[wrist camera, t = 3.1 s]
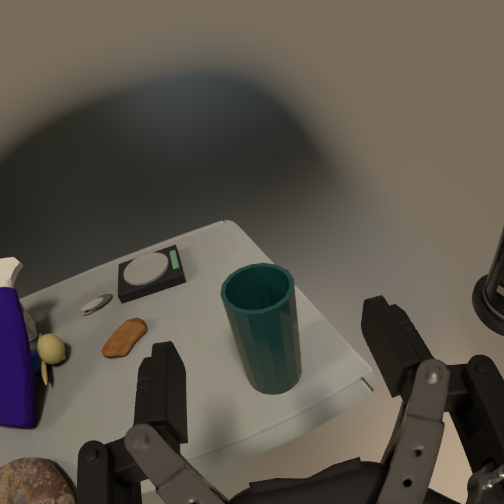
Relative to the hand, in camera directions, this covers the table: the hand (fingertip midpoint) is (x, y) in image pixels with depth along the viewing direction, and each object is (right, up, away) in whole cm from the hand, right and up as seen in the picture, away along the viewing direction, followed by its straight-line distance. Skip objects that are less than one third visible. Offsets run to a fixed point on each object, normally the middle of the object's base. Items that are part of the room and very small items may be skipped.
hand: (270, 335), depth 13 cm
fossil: (-28, -23, +11) cm, 38 cm away
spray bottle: (-33, -20, +14) cm, 41 cm away
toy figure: (-32, -14, +24) cm, 42 cm away
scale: (-18, -1, +39) cm, 43 cm away
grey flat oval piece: (-26, -6, +35) cm, 44 cm away
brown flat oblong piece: (-18, -9, +27) cm, 34 cm away
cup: (+2, -10, +21) cm, 23 cm away
